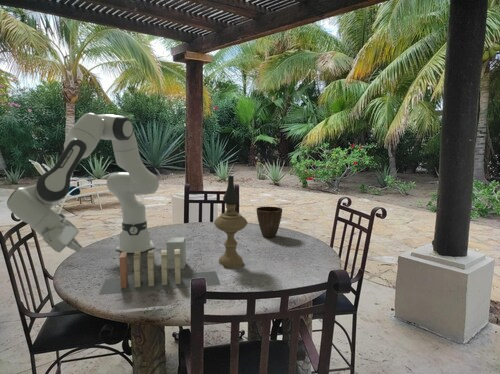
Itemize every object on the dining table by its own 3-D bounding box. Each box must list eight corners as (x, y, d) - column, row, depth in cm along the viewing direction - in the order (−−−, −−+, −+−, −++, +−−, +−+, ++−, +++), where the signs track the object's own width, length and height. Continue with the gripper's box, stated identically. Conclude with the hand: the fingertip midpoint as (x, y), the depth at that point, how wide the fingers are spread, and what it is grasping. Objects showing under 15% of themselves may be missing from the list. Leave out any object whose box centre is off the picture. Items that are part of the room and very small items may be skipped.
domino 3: (149, 279, 144) (148, 250, 142) (154, 279, 144) (153, 250, 143) (148, 286, 138) (147, 255, 136) (153, 285, 139) (152, 255, 137)
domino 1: (122, 281, 142) (121, 252, 140) (128, 281, 142) (126, 252, 140) (120, 288, 136) (119, 257, 134) (126, 287, 136) (125, 257, 135)
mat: (105, 281, 144) (105, 279, 144) (215, 273, 154) (215, 271, 154) (98, 296, 131) (98, 294, 131) (220, 286, 140) (220, 284, 140)
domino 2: (136, 280, 143) (134, 251, 141) (141, 280, 143) (140, 251, 141) (134, 287, 137) (133, 256, 135) (140, 286, 137) (139, 256, 136)
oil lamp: (217, 271, 156) (216, 178, 150) (211, 259, 170) (210, 174, 164) (251, 267, 160) (252, 177, 154) (242, 256, 174) (243, 173, 168)
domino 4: (162, 278, 145) (161, 250, 143) (167, 278, 145) (166, 249, 144) (162, 285, 139) (161, 254, 137) (167, 284, 140) (166, 254, 138)
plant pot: (251, 234, 213) (252, 207, 211) (274, 231, 220) (274, 205, 217) (263, 240, 200) (263, 212, 198) (286, 237, 206) (287, 210, 204)
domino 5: (175, 278, 146) (174, 249, 144) (180, 277, 146) (179, 248, 145) (175, 284, 140) (174, 254, 138) (180, 283, 141) (180, 253, 139)
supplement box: (186, 264, 164) (185, 237, 162) (184, 270, 156) (183, 242, 155) (170, 264, 163) (169, 237, 162) (166, 270, 156) (166, 242, 154)
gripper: (46, 226, 120) (79, 252, 124) (63, 212, 140) (92, 236, 144) (32, 239, 120) (66, 266, 124) (52, 224, 140) (80, 247, 143)
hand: (80, 249), depth 134 cm, fingers closed
